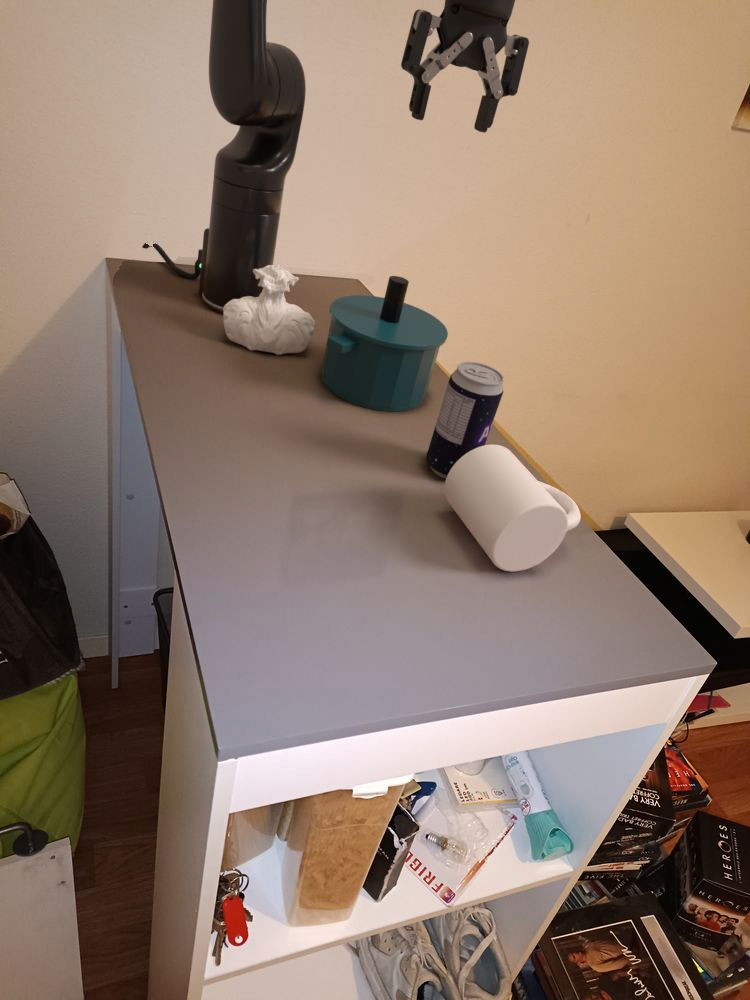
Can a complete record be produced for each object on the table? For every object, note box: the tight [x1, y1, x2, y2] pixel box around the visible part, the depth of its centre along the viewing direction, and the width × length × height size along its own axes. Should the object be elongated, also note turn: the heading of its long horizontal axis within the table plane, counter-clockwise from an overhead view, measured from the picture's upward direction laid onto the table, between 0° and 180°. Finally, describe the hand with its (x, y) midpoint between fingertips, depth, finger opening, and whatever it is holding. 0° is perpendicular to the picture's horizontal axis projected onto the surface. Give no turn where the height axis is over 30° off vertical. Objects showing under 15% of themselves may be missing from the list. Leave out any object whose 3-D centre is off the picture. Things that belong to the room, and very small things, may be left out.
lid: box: [328, 275, 449, 350], centre depth 89 cm, size 15×15×6 cm
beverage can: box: [425, 361, 504, 480], centre depth 78 cm, size 6×6×12 cm
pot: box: [321, 318, 441, 412], centre depth 93 cm, size 14×19×8 cm
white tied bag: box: [222, 263, 316, 356], centre depth 96 cm, size 12×8×11 cm
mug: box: [443, 444, 582, 573], centre depth 71 cm, size 12×10×8 cm
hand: (448, 124), depth 88 cm, fingers open, 8 cm apart
